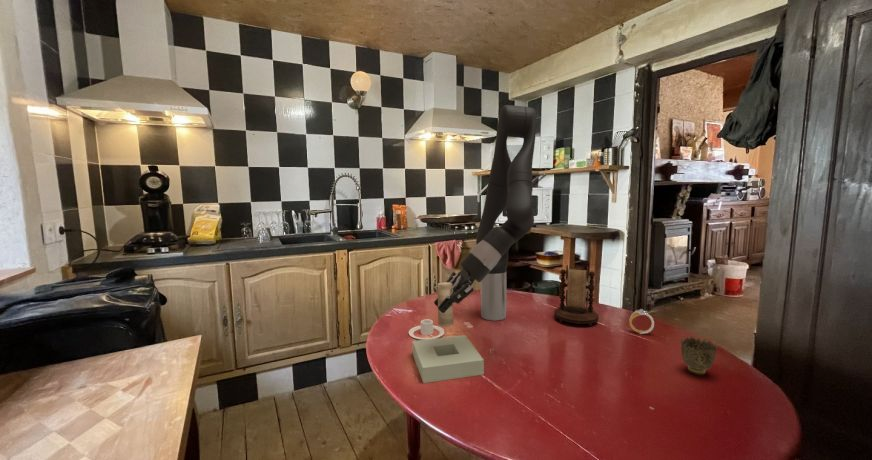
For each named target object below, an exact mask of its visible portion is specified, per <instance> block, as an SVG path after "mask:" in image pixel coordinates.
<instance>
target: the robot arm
mask: <svg viewBox="0 0 872 460" xmlns="http://www.w3.org/2000/svg"><path fill="white" fill-rule="evenodd" d="M537 126H538V125H537V112H536V109H534V108H533V107H530V106H522V105H514V104H513V105H512V104H505V105H502V107H501V108H500V111H499V115H498V120H497V127H496V128H497V129H496V133H495V134H496V136H495V142H494V143H495V144H494V152H493V159H492V163H491V167H490V171H489V177H488V181H487V182H488V183H487V187H486V195H485V201H484V205H483V212H482V215H481V218H480V222H479V225H478V228H477V232H476V237H475V240H476V241H475V242H476V243H475V246H474V247H473V248H472V249H471V250H470V251H469V252H468V254H467V255H466V256H465V257H463V259H462V260H461V262H460V263H459V266H460V267H461V270H460V271H458V272H457V273H456V272H455V271H453V272H452V273H451V274H450V275H449V277H448V279H447V280H446V281H445V282H449V283H452V288H451V292H450V293H449V295H448V296H447V297H446V298H445V299H444V301H443V302H442V303H441V304H440V305H439V306H438V297H437V298H436V299H435V300H434V301H433V303H434V305H435V306H436V307H437V310H438V309H439V310H440V311H441V312H442V313H445V312H446V310H447V309H448V308H449V307H450V306H451V305H452V304H456V305H458V304H460V303H461V302H462V301H464V299H465V298H467V297H468V296H469V295H470V294H471V293H473V292H474V290H475V289H474V287H473V286H472V285H473V284H474V282H475V281H476V282H477V283H480V317H481V318H482V319H484V320H486V321H496V322H497V321H502V320H504V319H506V318H507V270H508V269H507V268H508V263H509V249H510V248H511V246H513V244H516V242H517V243H518V241H519V240H520V239H522V238H523V237H524V236H525V235H527V233H528V232H530V230H531V229H532V227H533V226H534V223H535V215H534V207H533V196H532V195H533V190H534V189H533V186H534V185H533V160H534V151H535V145H536V144H535V143H536V135H537ZM508 137H509V138H516V139H520V138H521V139H523V142H522V145H521V147H520V149H519V151H518V153H517V154H516V155H515V156H514V158H513V159H512V160H511V158H510V154H509V151H508V143H507V142H508ZM504 211H505V212H506V213H505V214H506V218H507V220H505V222H504V223H502V224H501V225H500V226H495V224H496V222H497V220H498V218H499V217H500V216H501V214H502V213H503V212H504Z"/></svg>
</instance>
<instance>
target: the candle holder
mask: <svg viewBox="0 0 872 460" xmlns="http://www.w3.org/2000/svg"><path fill="white" fill-rule="evenodd" d="M417 330H420V334H421V335H422V336H431V335H433V334H434V330H437V331H438V332H439V334H438V335H435V336H433V337H419V336H417V335H415V334H414V333H415V331H417ZM408 335H409V336H410V337H411V338H413V339H416V340H427V339H436V338H441V337H443V335H445V329H444V328H443V327H442V326H440V325H434V321H433V320H432V319H428V318H426V319H422V320H421V321H420V325H417V326H414V327H412V328H410V329H409V330H408Z"/></svg>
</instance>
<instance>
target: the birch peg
mask: <svg viewBox="0 0 872 460" xmlns="http://www.w3.org/2000/svg"><path fill="white" fill-rule="evenodd" d="M451 288H452V283H449V282H446V281H444V282H439V283H437V298H438V306H439V305H440V304H441V303H442V302H443V301H444V299H445V298H446V297H447V296H448V295H449V293H450V292H451ZM453 304H454V303H453ZM453 304H452V305H451V306H450V307H449V308H448V309H447V310H446V312H445V313H442V312H441V311H440V310H439V309H438V308H437V319H438V320H437V323H438V326H439V327H451V326H453V325H454V305H453Z"/></svg>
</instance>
